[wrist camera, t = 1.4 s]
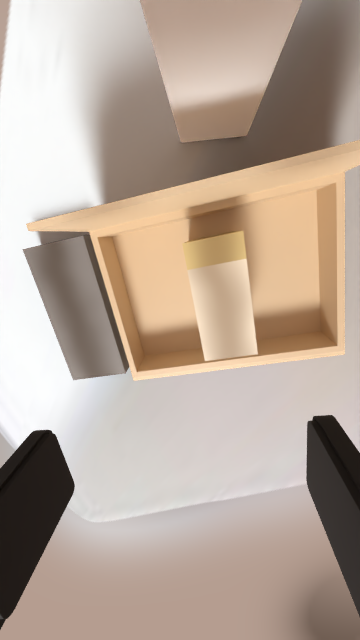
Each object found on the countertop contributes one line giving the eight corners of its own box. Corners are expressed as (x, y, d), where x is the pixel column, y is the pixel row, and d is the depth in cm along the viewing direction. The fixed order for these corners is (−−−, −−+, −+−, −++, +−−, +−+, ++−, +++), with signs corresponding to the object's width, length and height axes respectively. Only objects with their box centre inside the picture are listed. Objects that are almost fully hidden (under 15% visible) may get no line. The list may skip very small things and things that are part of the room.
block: (233, 231, 24) (243, 230, 18) (245, 325, 27) (257, 354, 21) (188, 240, 25) (182, 243, 19) (205, 331, 28) (204, 361, 22)
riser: (96, 235, 26) (82, 235, 23) (132, 360, 31) (125, 373, 28) (41, 247, 27) (22, 249, 24) (85, 367, 32) (73, 380, 29)
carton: (321, 176, 22) (437, 120, 11) (325, 337, 27) (409, 411, 16) (105, 227, 26) (25, 223, 15) (142, 362, 31) (105, 437, 19)
